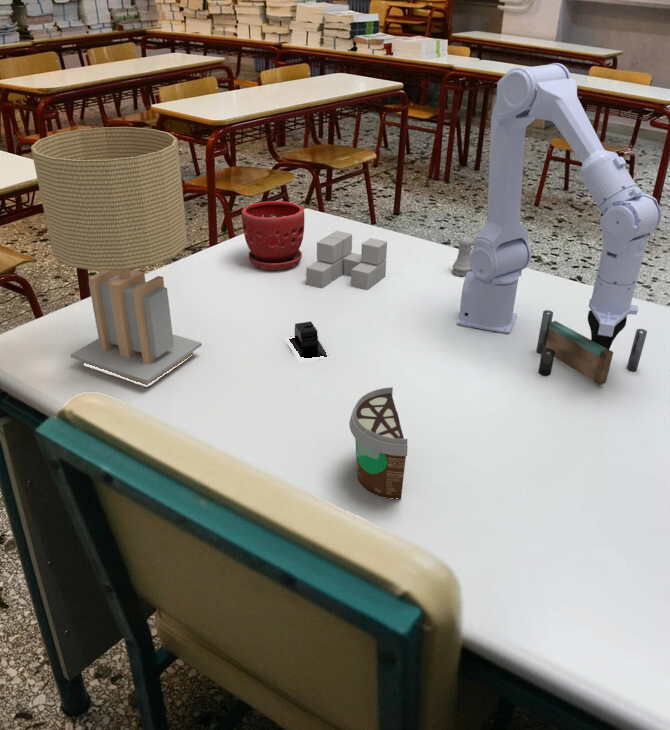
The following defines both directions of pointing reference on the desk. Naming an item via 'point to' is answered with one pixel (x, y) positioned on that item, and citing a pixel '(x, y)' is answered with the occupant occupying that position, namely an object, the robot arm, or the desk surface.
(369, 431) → the food container
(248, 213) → the plant pot
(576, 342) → the open box
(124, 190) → the desk lamp
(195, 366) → the desk surface
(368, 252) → the grey cube structure
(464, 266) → the rook chess piece
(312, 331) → the black stepped block
